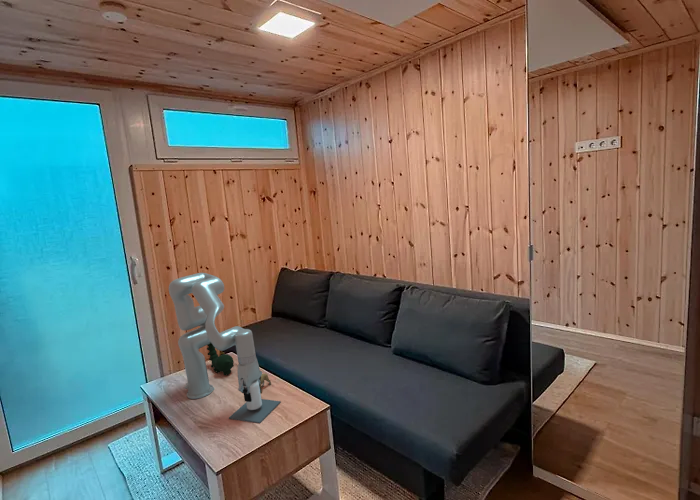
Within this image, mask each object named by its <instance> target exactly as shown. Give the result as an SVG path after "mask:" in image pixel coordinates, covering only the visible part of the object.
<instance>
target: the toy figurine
mask: <svg viewBox="0 0 700 500" xmlns="http://www.w3.org/2000/svg"><path fill="white" fill-rule="evenodd" d="M206 350H207V351H208V352H207V356H209V358H208V360H209V361H210V362H211V365H210V367H211V368H212V369H213V370H212V371H213V372H215V373H217V374H220V373H222V375H223V376H229V375H230V374H231V373H232V370H231V369H232V368H234V366H235V364H234V362H235V361H234V358H233V357H232V355H230V354H228V353H223V354H218V352H217V351H218V350H217V349H216V348H215V347H214V346H213V344H212V343H210V344H208V345H207V347H206Z"/></svg>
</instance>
